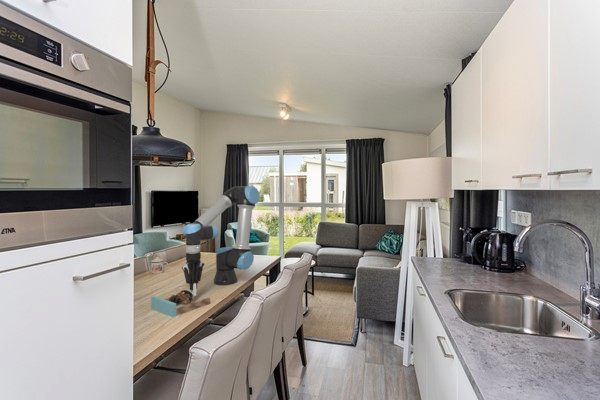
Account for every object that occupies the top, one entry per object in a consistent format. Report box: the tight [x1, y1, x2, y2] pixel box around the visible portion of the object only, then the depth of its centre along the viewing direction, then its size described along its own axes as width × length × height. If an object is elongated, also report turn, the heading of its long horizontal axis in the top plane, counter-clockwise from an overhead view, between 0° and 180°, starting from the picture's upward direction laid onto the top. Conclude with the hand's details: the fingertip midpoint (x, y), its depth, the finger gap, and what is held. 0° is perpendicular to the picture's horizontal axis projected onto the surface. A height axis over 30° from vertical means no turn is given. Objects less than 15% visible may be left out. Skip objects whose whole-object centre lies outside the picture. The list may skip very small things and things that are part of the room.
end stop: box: [150, 295, 177, 318], centre depth 151 cm, size 2×19×6 cm, turn 55°
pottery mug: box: [169, 289, 194, 306], centre depth 161 cm, size 12×10×8 cm
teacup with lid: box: [150, 256, 169, 275], centre depth 229 cm, size 12×9×12 cm
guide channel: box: [164, 292, 211, 317], centre depth 160 cm, size 20×19×3 cm
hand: (193, 295), depth 165 cm, fingers closed
